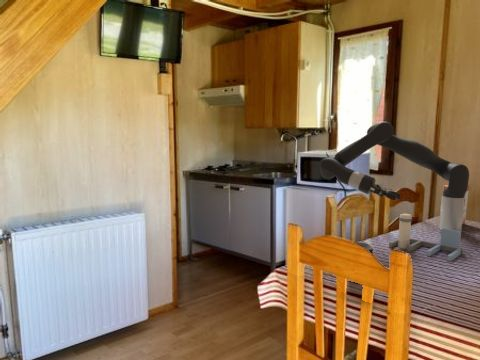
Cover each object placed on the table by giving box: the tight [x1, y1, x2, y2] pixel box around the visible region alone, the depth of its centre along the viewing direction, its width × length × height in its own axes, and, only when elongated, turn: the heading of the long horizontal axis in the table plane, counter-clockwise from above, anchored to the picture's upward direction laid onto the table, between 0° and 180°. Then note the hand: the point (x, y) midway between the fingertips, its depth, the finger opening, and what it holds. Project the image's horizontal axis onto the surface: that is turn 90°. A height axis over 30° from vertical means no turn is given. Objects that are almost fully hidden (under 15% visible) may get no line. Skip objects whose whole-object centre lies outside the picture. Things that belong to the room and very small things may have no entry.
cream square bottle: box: [397, 213, 413, 250], centre depth 162 cm, size 5×5×14 cm
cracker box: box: [438, 184, 470, 225], centre depth 201 cm, size 14×6×21 cm, turn 117°
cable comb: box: [388, 228, 465, 262], centre depth 159 cm, size 13×25×9 cm, turn 45°
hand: (398, 197), depth 160 cm, fingers open, 8 cm apart
